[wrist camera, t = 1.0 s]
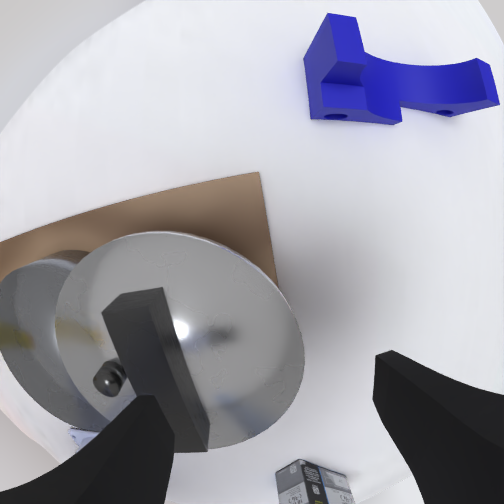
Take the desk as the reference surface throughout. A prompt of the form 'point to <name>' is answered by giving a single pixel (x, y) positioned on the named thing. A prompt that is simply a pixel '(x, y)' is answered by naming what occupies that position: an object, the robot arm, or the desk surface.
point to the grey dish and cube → (42, 338)
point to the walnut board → (160, 223)
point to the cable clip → (386, 80)
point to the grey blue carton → (312, 485)
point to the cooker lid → (181, 336)
